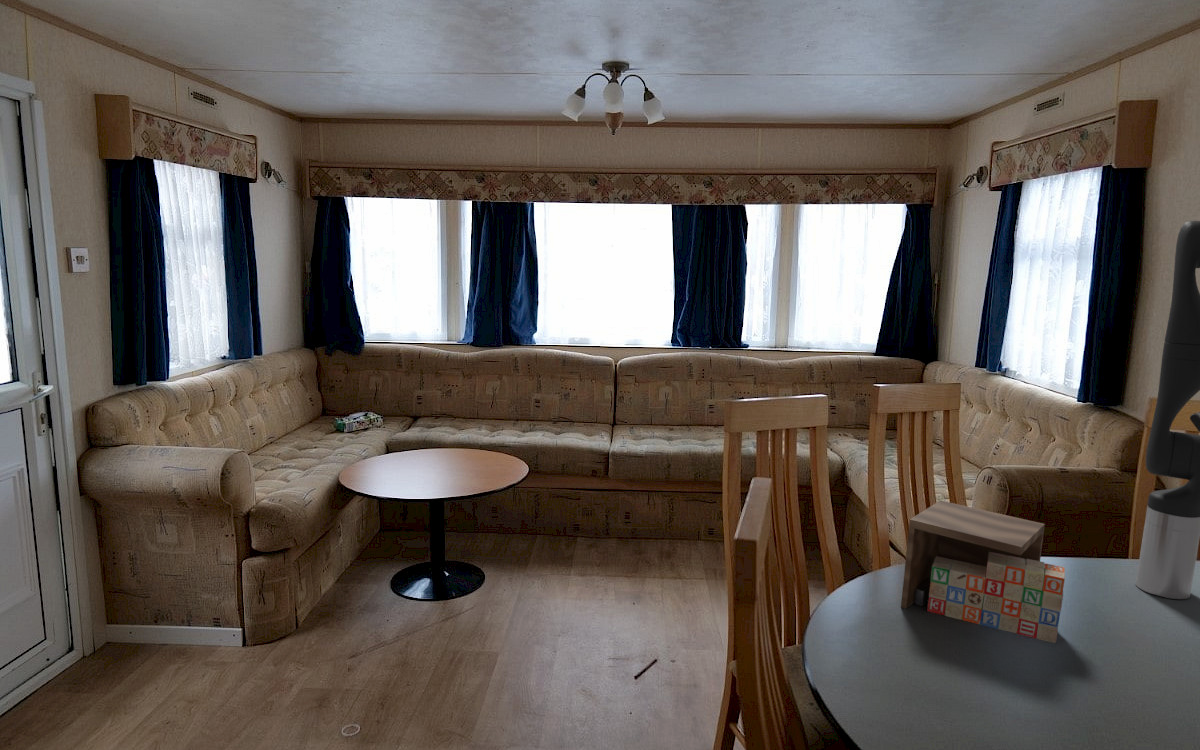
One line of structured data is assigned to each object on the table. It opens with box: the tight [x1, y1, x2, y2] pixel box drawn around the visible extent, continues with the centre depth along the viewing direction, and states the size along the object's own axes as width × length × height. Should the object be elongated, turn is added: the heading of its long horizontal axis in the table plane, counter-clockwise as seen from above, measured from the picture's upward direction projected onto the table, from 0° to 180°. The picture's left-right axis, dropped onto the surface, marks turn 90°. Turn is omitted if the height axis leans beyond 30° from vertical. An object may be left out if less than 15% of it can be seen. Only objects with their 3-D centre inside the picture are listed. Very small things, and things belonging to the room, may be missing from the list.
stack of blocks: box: [926, 552, 1066, 644], centre depth 142 cm, size 21×6×12 cm, turn 60°
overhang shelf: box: [900, 500, 1046, 610], centre depth 146 cm, size 17×19×18 cm
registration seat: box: [913, 577, 931, 607], centre depth 152 cm, size 10×2×3 cm, turn 138°
